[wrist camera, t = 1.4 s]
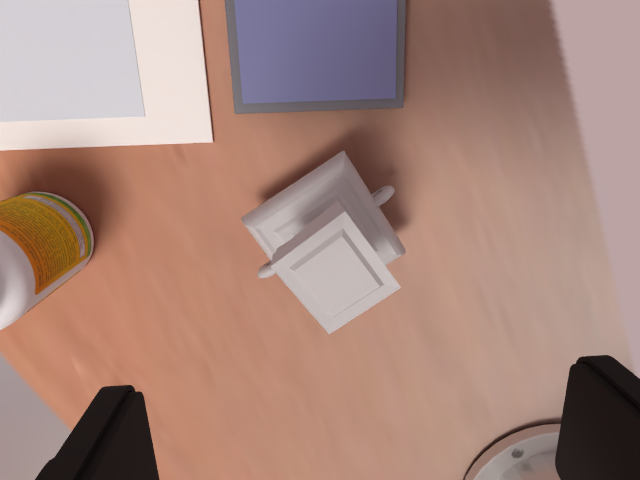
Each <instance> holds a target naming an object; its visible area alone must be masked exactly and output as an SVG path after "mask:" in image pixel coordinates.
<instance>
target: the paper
mask: <svg viewBox="0 0 640 480" xmlns="http://www.w3.org/2000/svg"><path fill="white" fill-rule="evenodd" d="M205 142H213V133H212V124H211V114H210V105H209V95H208V85H207V76H206V66H205V57H204V47H203V38H202V28H201V19H200V9H199V0H0V150H23V149H49V148H75V147H101V146H127V145H153V144H179V143H205Z"/></svg>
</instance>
